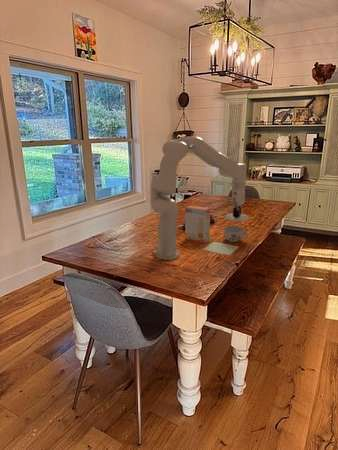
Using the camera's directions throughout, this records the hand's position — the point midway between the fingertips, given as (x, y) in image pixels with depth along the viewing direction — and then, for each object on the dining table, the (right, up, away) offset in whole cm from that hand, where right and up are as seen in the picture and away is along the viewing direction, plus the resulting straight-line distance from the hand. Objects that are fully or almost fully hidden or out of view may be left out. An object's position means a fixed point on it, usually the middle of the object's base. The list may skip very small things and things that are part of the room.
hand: (236, 215), depth 187 cm
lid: (0, -2, 0) cm, 2 cm away
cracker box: (-23, -15, +6) cm, 28 cm away
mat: (-11, -19, -7) cm, 23 cm away
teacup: (0, -16, +5) cm, 16 cm away
